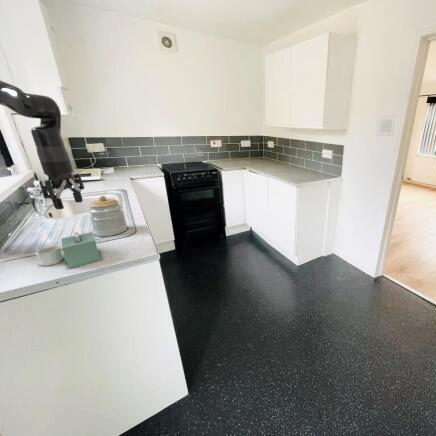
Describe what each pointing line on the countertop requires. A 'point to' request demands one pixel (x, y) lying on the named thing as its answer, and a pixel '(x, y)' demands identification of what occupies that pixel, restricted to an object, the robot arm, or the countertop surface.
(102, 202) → the jar
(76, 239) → the tissue box
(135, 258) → the countertop surface
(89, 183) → the countertop surface
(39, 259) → the bowl
